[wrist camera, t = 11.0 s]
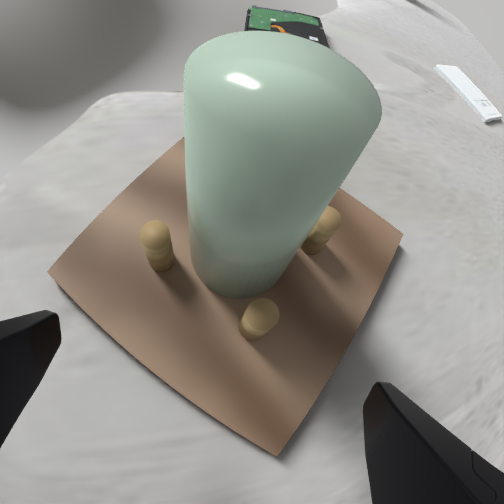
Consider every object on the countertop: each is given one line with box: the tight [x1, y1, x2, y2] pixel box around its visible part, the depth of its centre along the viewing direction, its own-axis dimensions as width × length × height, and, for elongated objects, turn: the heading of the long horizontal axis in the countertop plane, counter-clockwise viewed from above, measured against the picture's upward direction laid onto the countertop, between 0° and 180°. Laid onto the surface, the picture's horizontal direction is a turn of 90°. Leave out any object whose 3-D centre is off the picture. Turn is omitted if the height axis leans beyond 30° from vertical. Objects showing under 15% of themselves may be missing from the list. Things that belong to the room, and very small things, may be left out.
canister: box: [184, 31, 382, 299], centre depth 14 cm, size 6×6×13 cm
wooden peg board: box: [47, 137, 403, 456], centre depth 19 cm, size 18×18×5 cm
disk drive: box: [244, 6, 329, 48], centre depth 33 cm, size 10×3×15 cm
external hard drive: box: [434, 65, 502, 123], centre depth 39 cm, size 2×8×12 cm
